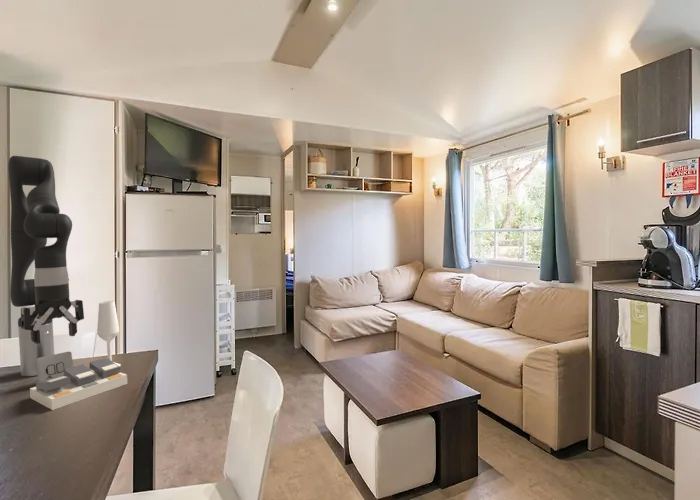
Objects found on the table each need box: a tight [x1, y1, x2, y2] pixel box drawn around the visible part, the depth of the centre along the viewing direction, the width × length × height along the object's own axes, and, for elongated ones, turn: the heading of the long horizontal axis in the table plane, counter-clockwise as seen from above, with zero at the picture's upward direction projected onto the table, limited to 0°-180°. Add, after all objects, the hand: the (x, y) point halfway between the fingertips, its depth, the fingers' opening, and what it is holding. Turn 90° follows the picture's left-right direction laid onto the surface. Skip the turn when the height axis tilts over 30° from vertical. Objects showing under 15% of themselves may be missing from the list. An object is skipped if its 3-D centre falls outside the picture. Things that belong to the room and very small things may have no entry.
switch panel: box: [29, 369, 129, 411], centre depth 112 cm, size 15×20×4 cm
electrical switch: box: [36, 351, 74, 382], centre depth 120 cm, size 9×5×9 cm, turn 141°
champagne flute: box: [96, 300, 121, 367], centre depth 132 cm, size 7×7×24 cm
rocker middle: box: [64, 364, 97, 386], centre depth 112 cm, size 9×5×2 cm, turn 60°
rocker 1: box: [35, 376, 70, 390], centre depth 106 cm, size 9×5×2 cm, turn 59°
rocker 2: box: [88, 357, 121, 378], centre depth 118 cm, size 9×5×2 cm, turn 60°
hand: (55, 339), depth 104 cm, fingers open, 8 cm apart
